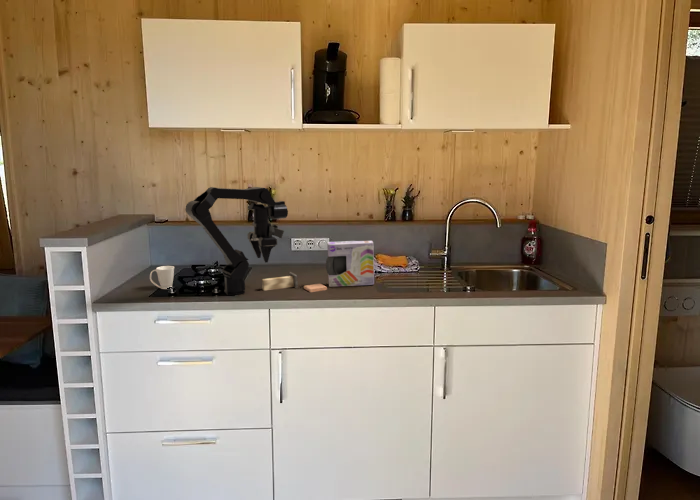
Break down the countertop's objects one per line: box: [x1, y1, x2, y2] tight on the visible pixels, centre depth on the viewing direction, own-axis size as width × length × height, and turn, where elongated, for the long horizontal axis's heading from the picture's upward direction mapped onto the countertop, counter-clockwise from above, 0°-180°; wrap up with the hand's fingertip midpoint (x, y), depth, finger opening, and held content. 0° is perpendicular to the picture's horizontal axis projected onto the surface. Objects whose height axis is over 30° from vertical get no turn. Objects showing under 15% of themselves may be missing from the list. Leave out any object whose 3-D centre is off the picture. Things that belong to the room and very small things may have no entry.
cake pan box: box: [325, 240, 375, 288], centre depth 199 cm, size 19×5×18 cm, turn 95°
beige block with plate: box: [261, 271, 299, 291], centre depth 196 cm, size 13×7×5 cm, turn 118°
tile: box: [303, 283, 328, 293], centre depth 195 cm, size 2×6×7 cm
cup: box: [149, 265, 175, 290], centre depth 196 cm, size 7×10×8 cm
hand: (262, 260), depth 195 cm, fingers open, 9 cm apart
